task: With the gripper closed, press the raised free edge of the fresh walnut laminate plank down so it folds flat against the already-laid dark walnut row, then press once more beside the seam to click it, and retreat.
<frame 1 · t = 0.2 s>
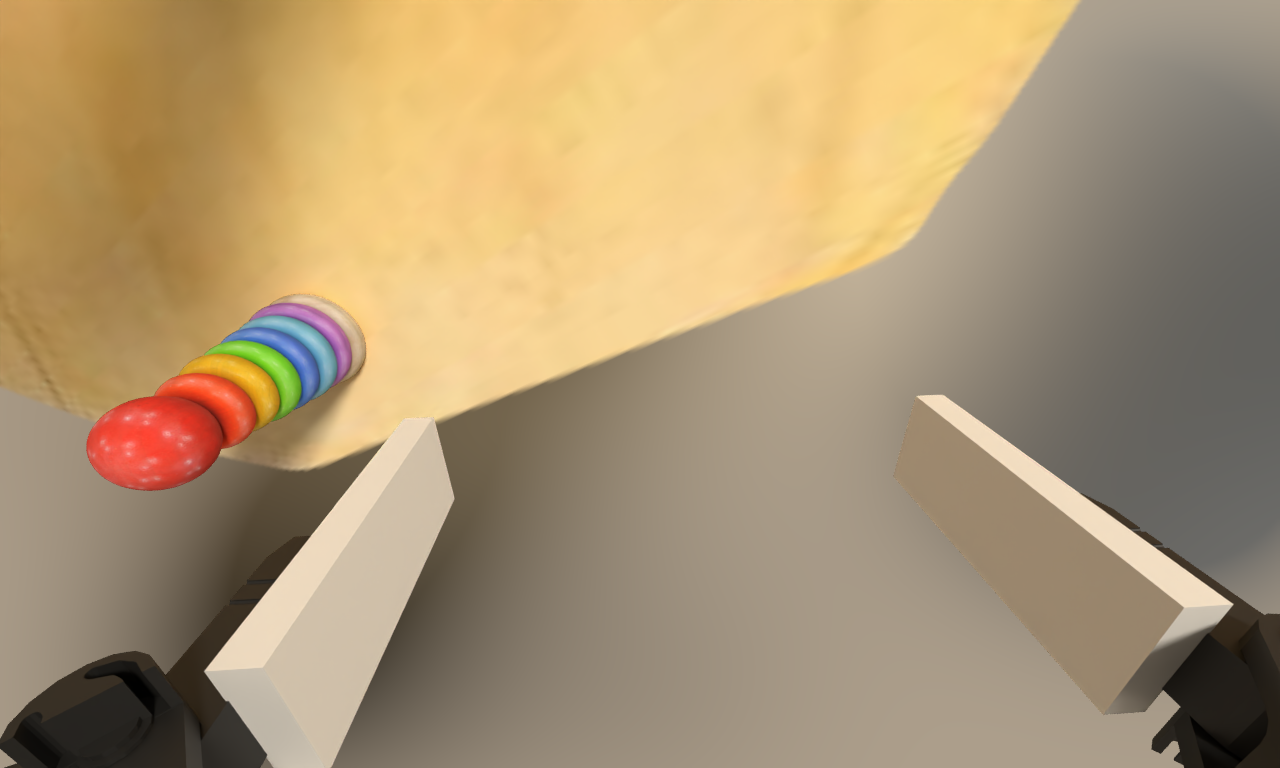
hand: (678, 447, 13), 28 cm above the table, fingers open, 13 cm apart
stacking toy: (322, 335, 39), on the table
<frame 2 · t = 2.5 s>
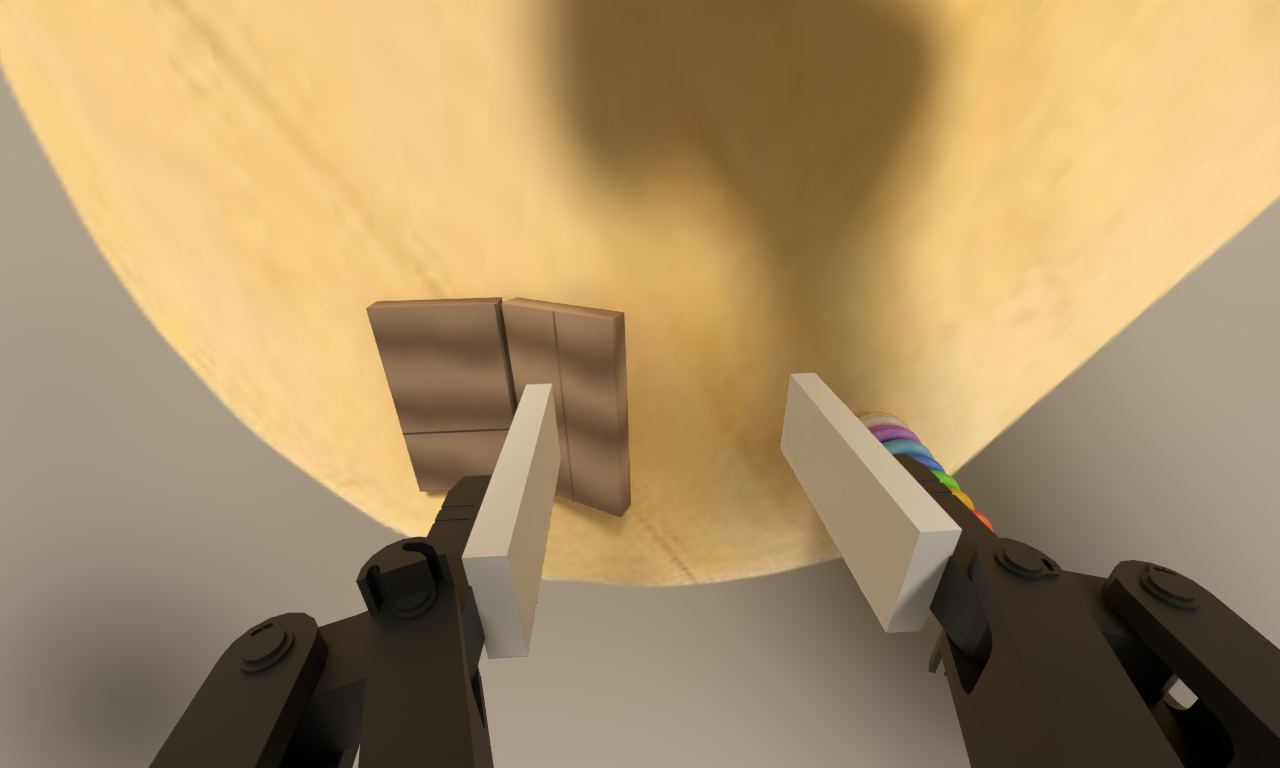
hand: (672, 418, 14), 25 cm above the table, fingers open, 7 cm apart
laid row: (527, 394, 42), on the table
plank: (570, 411, 39), point 3 cm above the table, hinge at 30.0°
stacking toy: (865, 442, 46), on the table
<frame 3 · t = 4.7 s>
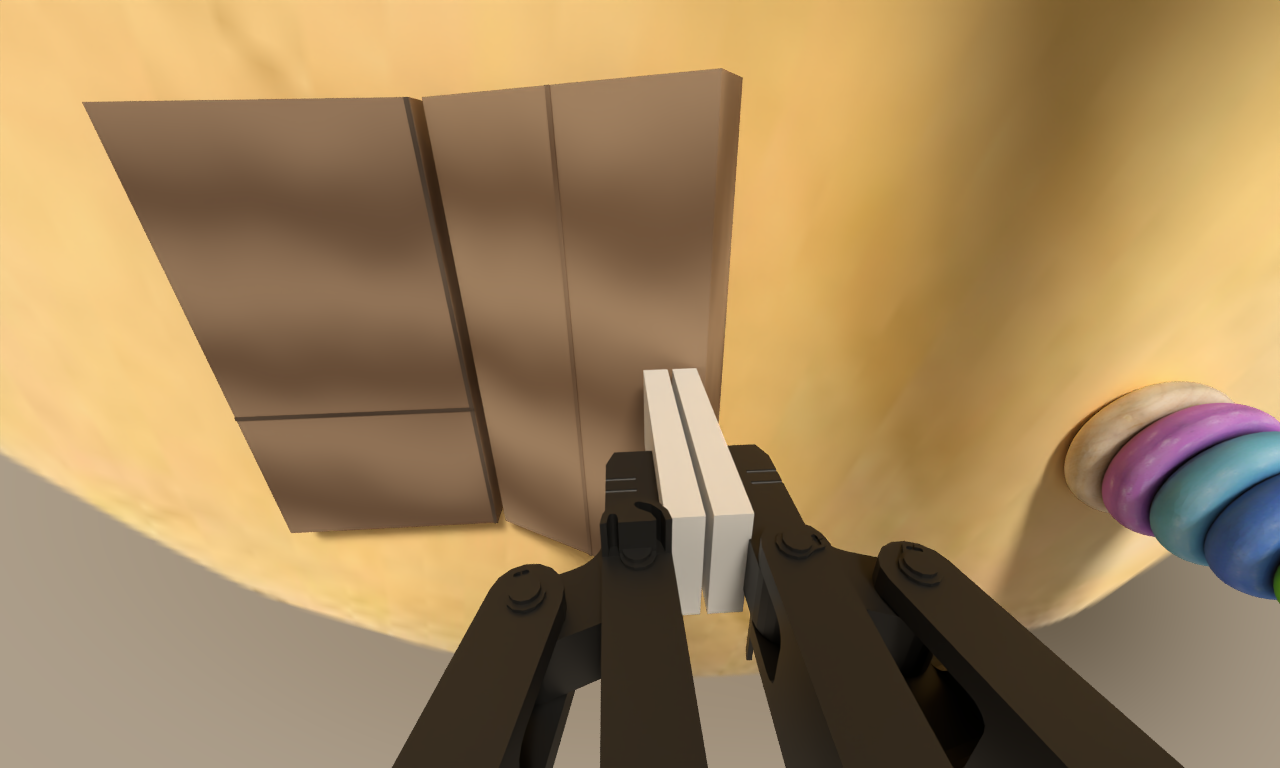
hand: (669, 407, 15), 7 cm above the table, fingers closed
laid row: (497, 339, 20), on the table
plank: (587, 367, 17), point 3 cm above the table, hinge at 29.7°, touching gripper
stacking toy: (1125, 438, 25), on the table
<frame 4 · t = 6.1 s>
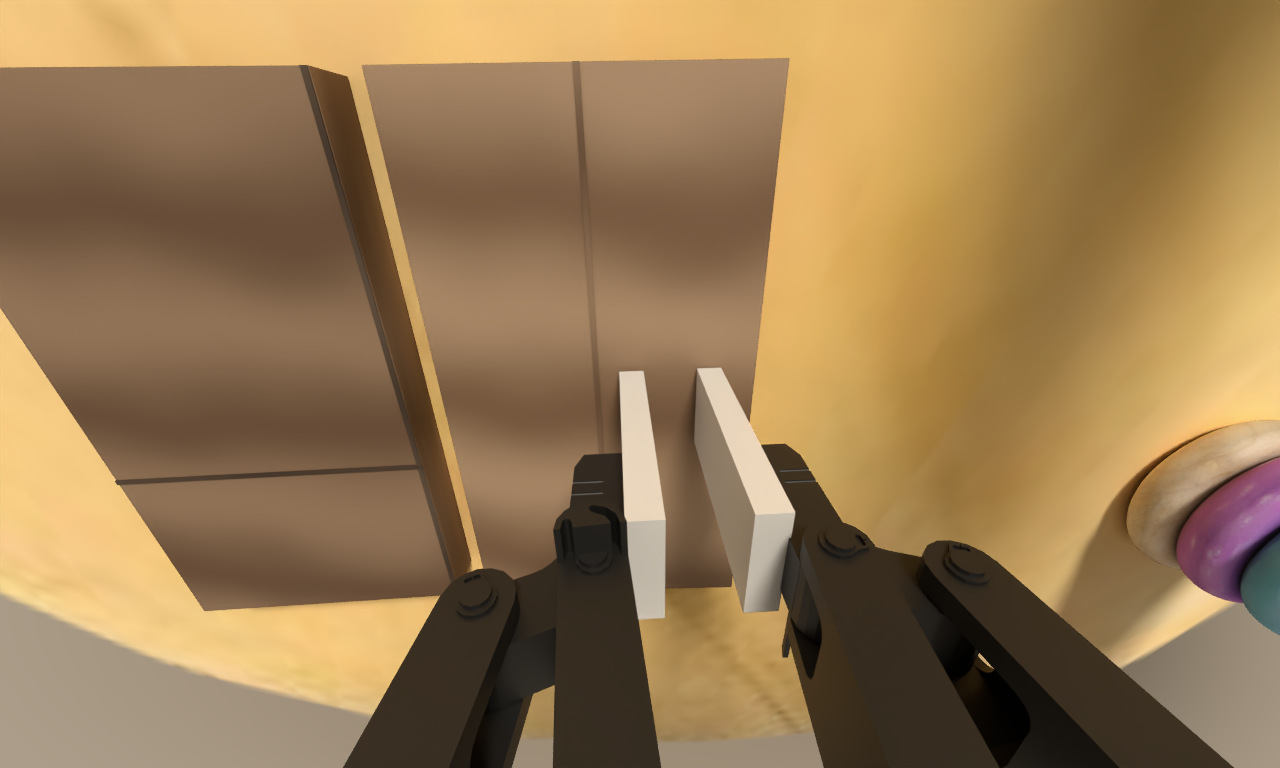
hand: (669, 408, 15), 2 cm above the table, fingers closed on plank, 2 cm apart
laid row: (453, 377, 16), on the table
plank: (599, 386, 16), point 1 cm above the table, hinge at 3.0°, touching gripper
stacking toy: (1196, 482, 22), on the table
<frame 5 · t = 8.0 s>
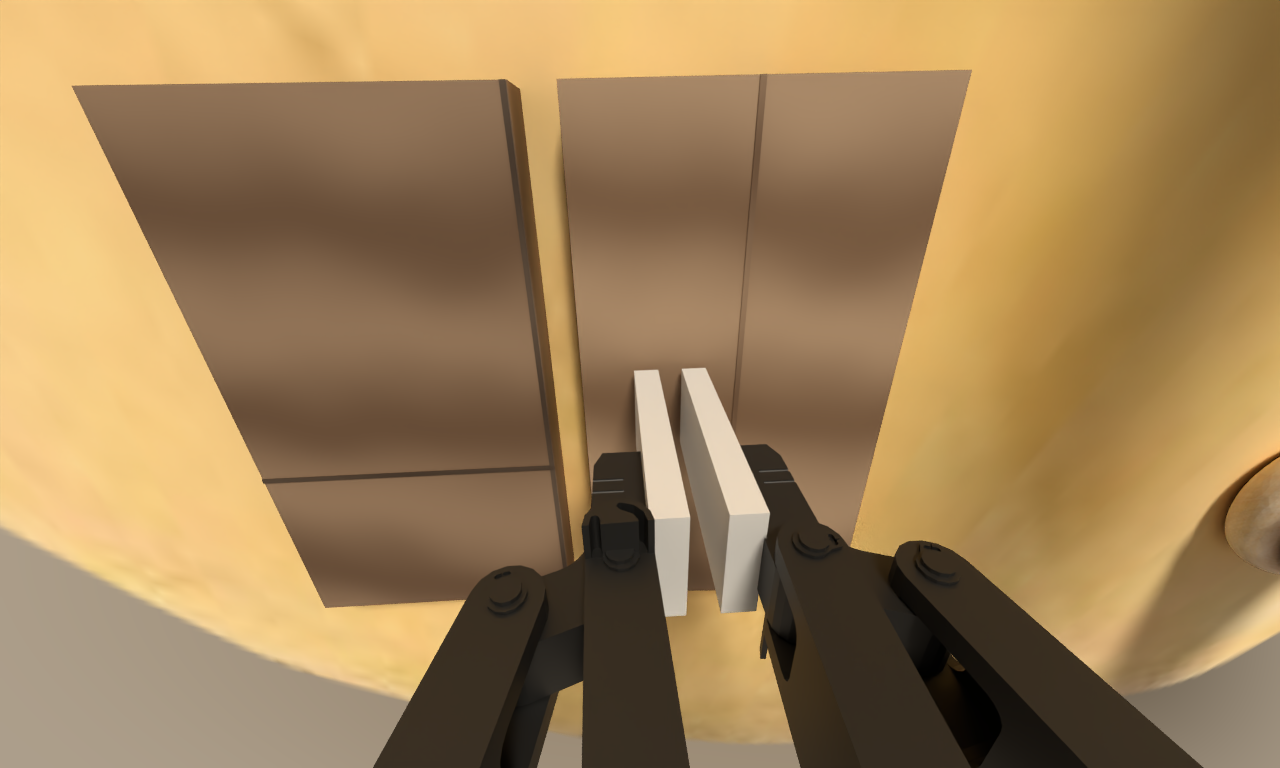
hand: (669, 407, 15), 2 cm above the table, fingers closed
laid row: (581, 380, 17), on the table
plank: (730, 389, 16), point 1 cm above the table, hinge at 3.0°, touching gripper
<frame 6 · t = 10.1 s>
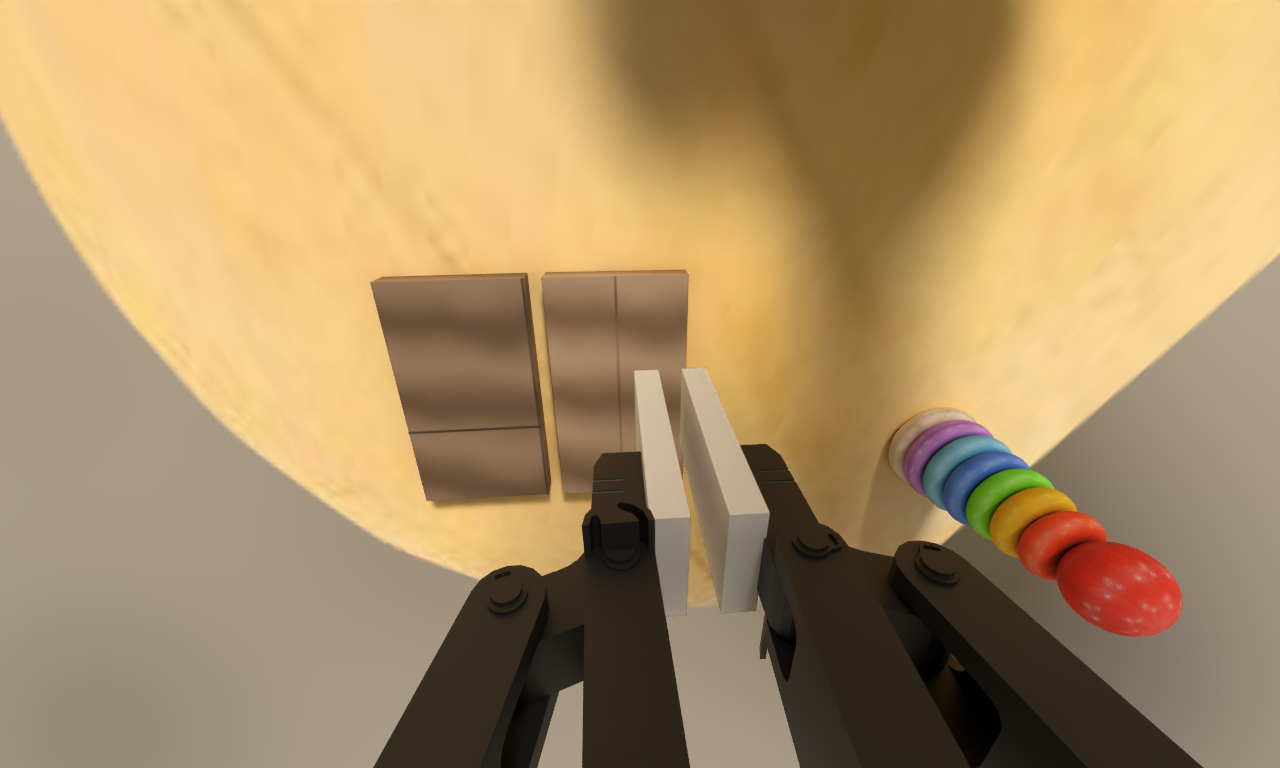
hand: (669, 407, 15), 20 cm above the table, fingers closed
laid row: (553, 387, 36), on the table
plank: (619, 390, 36), point 1 cm above the table, hinge at 3.0°
stacking toy: (925, 441, 42), on the table
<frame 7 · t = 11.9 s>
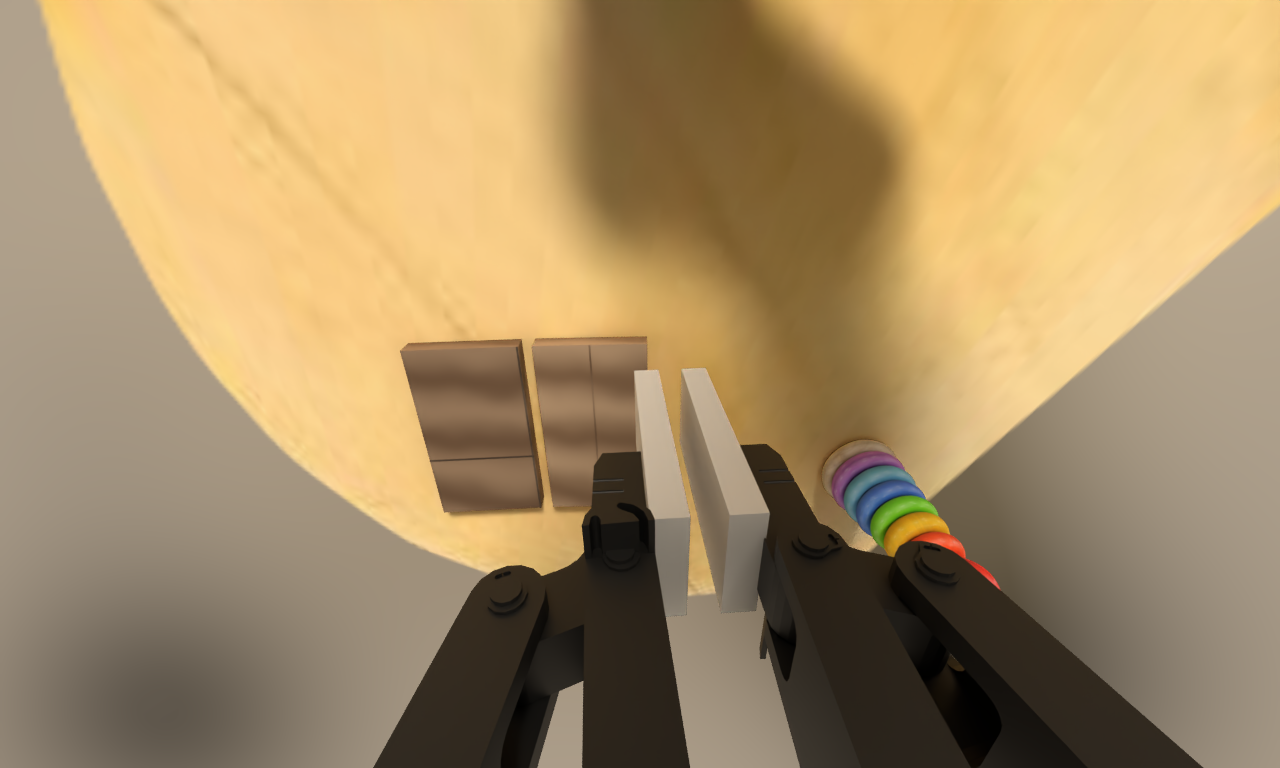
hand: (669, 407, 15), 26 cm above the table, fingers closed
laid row: (543, 424, 45), on the table
plank: (596, 428, 44), point 1 cm above the table, hinge at 3.0°
stacking toy: (854, 465, 50), on the table
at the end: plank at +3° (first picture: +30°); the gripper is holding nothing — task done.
